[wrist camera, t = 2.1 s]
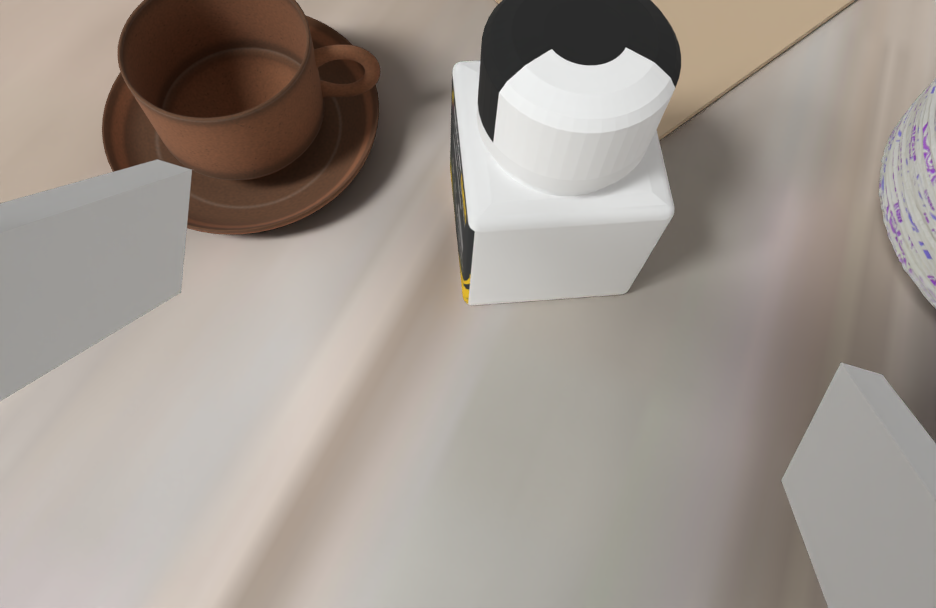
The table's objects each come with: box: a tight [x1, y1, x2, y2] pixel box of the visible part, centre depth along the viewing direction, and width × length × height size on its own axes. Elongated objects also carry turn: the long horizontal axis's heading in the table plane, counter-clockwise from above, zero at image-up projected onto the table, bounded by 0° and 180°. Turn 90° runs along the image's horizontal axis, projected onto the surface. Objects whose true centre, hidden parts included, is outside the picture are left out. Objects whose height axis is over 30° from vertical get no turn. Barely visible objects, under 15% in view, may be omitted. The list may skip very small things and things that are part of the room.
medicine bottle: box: [450, 0, 681, 305], centre depth 27 cm, size 7×7×12 cm
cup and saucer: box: [102, 0, 380, 234], centre depth 31 cm, size 12×12×6 cm
